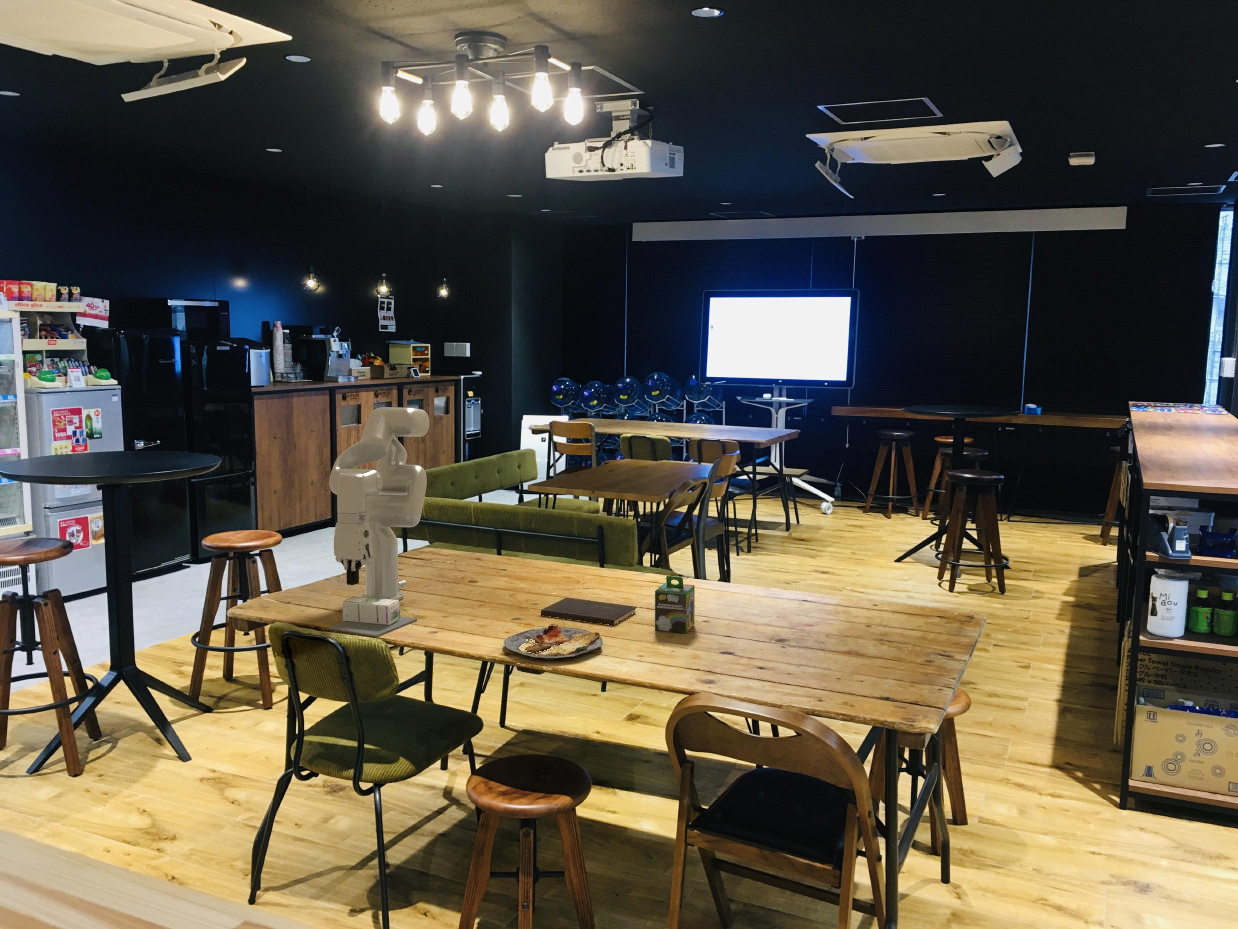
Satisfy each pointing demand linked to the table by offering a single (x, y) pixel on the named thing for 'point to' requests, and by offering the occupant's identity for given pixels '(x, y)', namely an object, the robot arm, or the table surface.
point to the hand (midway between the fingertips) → (352, 584)
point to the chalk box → (674, 606)
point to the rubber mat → (371, 627)
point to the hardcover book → (588, 611)
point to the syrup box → (371, 610)
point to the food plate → (555, 641)
